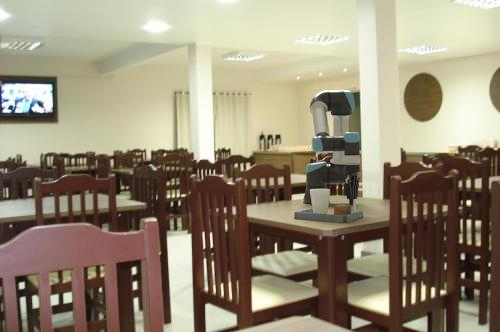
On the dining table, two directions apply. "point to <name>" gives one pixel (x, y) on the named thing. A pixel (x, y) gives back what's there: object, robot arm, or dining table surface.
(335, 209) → the walnut block
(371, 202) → the dining table surface
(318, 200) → the foam cup
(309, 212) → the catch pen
